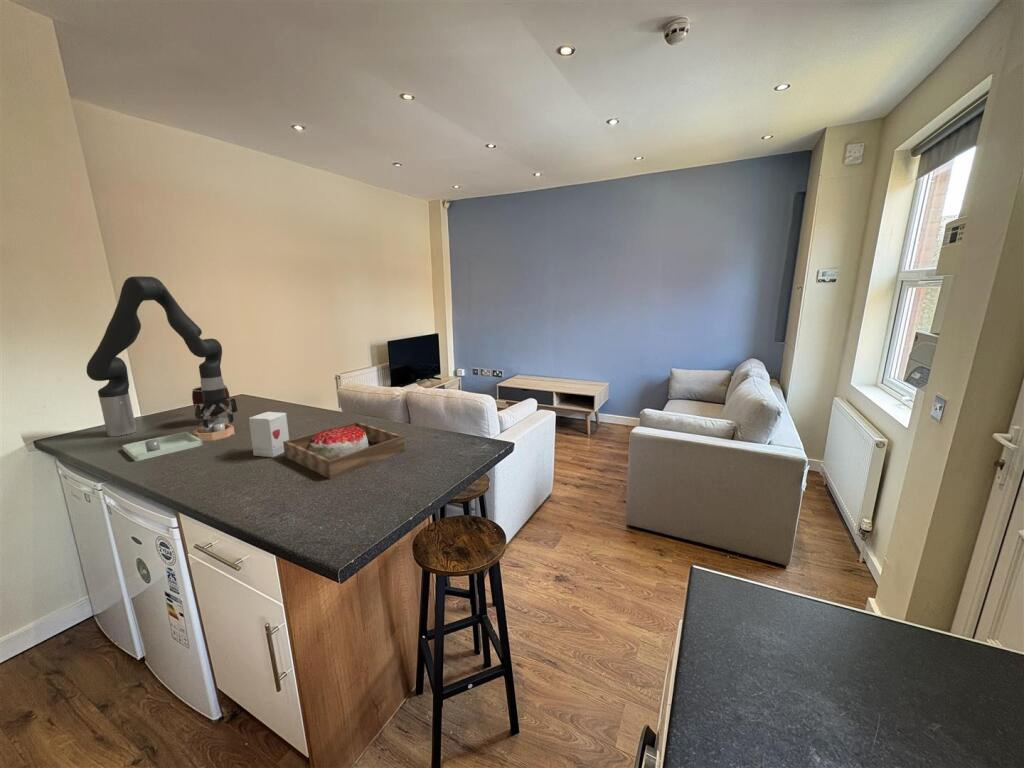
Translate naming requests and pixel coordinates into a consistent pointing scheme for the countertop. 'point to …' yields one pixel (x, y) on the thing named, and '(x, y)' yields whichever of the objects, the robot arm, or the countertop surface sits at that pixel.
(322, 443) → the cake
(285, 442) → the wooden tray
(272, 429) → the supplement box
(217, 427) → the pebble
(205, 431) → the pebble
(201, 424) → the mate gourd
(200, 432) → the bowl
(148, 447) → the grey rounded knob
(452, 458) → the countertop surface
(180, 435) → the tray
